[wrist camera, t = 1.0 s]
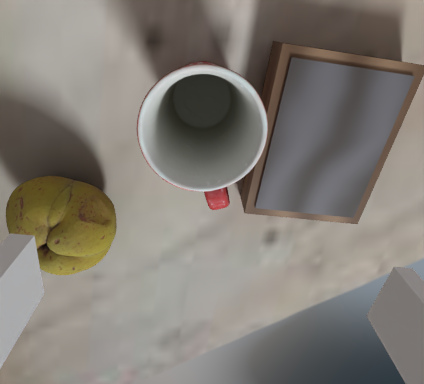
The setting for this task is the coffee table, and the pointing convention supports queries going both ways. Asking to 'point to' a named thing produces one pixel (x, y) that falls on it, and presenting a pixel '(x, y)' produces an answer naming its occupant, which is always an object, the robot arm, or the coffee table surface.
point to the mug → (202, 129)
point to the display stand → (326, 131)
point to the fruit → (63, 222)
